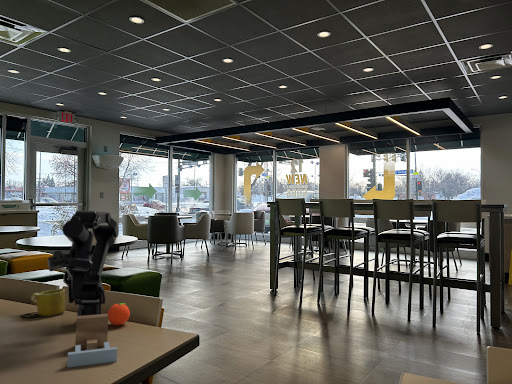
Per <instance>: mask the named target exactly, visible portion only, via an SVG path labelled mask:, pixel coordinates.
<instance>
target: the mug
mask: <svg viewBox="0 0 512 384" xmlns="http://www.w3.org/2000/svg"><path fill="white" fill-rule="evenodd" d="M30 300H31V302H32V303H33V304H34V305H35V307H36V309H37V314H38V315H39V316H40V317H41V316H42V317H54V316H56V315H57V316H58V315H60V314H63V313H64V312H65V311H66V290H65V289H63V288H61V289H60V288H59V289H58V288H57V289H50V290H45V291H41V292H40V293H39V292H35V293H33V294H31V295H30Z"/></svg>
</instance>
